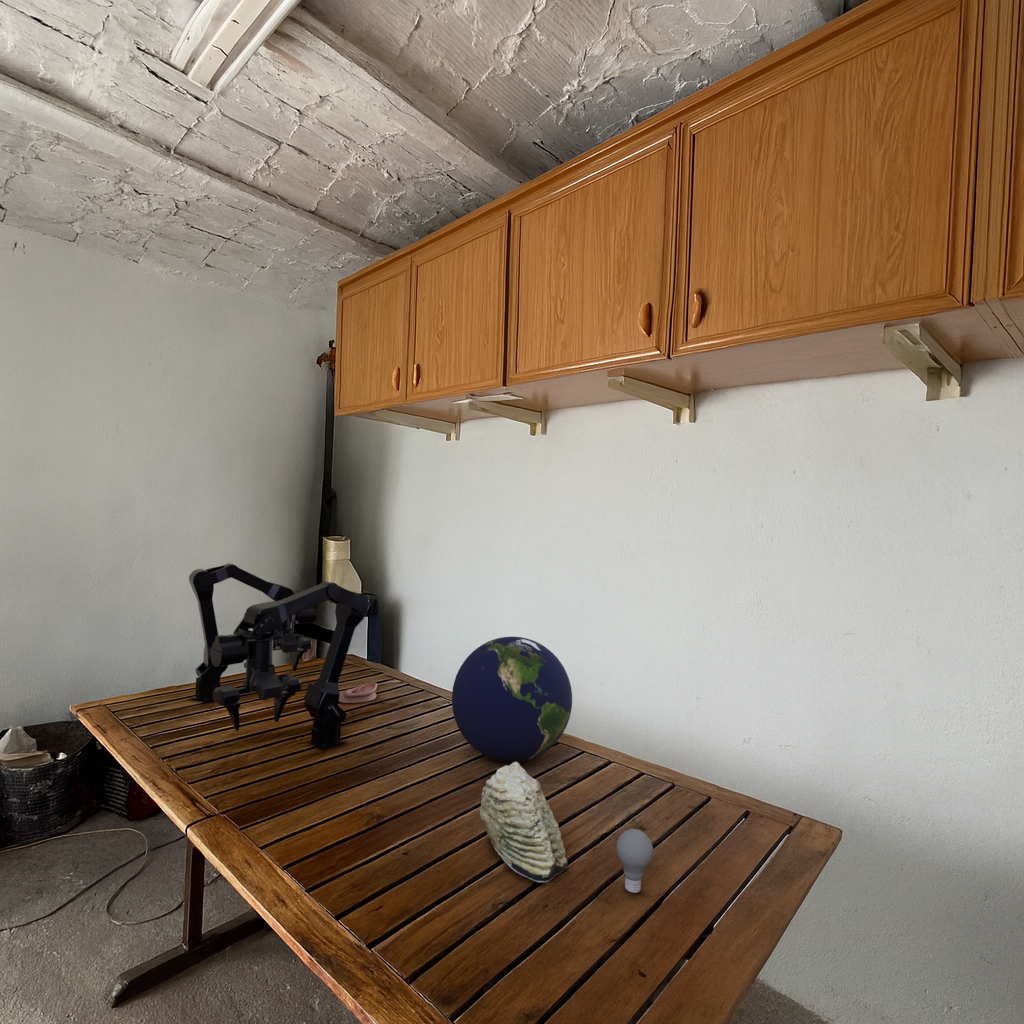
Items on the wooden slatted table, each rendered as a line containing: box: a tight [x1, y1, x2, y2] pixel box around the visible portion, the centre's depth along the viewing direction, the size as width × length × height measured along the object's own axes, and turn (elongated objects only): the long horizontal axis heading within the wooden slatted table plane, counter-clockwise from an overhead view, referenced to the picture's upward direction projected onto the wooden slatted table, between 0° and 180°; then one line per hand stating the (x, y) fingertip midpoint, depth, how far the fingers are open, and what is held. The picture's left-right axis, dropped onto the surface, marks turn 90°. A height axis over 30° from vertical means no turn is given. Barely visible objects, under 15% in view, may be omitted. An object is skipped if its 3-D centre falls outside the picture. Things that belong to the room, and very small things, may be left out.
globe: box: [451, 636, 573, 763], centre depth 158 cm, size 30×30×30 cm
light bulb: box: [615, 828, 654, 894], centre depth 106 cm, size 6×6×10 cm
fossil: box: [479, 762, 569, 883], centre depth 114 cm, size 9×18×15 cm, turn 46°
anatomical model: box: [339, 682, 378, 704], centre depth 199 cm, size 13×4×12 cm
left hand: (280, 673), depth 206 cm, fingers open, 9 cm apart
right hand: (257, 725), depth 148 cm, fingers open, 9 cm apart
